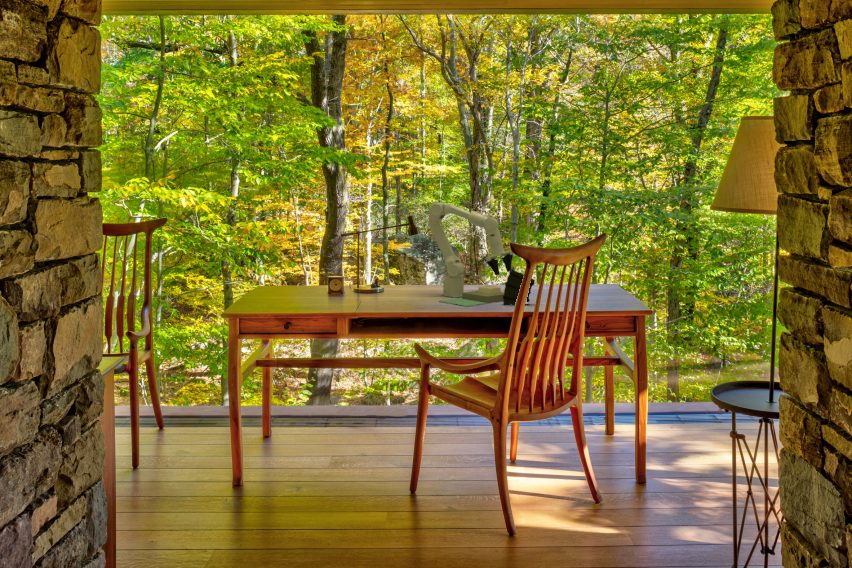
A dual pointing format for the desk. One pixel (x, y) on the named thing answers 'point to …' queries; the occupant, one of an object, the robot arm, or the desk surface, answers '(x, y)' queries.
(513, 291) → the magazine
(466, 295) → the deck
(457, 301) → the mat
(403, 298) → the desk surface
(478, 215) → the robot arm
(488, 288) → the tile
